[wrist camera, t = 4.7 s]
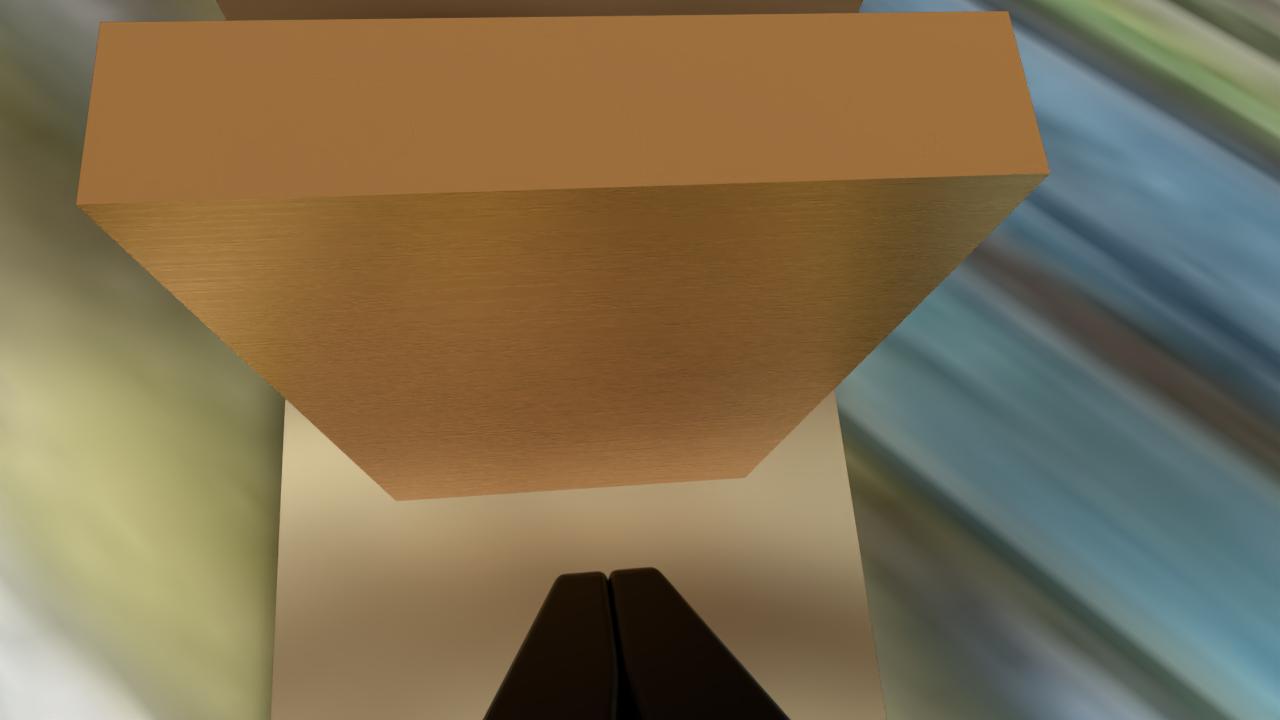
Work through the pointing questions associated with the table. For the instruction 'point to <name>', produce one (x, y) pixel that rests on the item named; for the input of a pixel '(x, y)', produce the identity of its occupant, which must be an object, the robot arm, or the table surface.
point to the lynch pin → (557, 220)
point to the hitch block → (558, 530)
